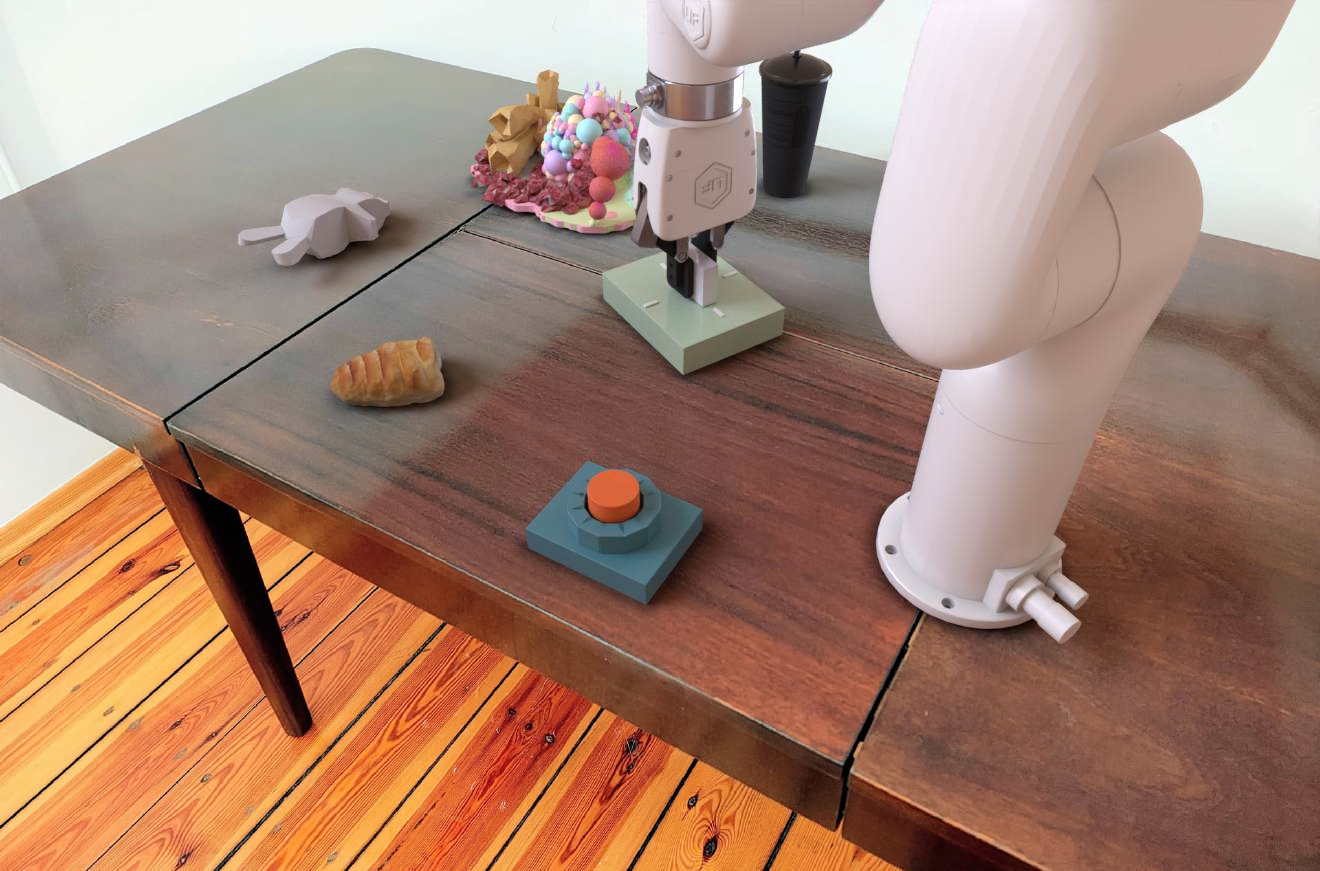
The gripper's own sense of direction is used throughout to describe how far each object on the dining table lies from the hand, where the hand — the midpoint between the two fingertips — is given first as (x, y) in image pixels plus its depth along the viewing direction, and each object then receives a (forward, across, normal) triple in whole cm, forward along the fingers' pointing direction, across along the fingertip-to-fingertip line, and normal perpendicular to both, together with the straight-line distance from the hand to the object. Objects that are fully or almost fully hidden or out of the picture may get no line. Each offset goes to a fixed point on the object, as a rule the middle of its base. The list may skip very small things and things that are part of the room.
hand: (691, 285), depth 86 cm
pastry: (+4, -27, +5) cm, 28 cm away
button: (0, -20, -20) cm, 28 cm away
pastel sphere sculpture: (+4, +5, +30) cm, 31 cm away
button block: (+3, -20, -20) cm, 28 cm away
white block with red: (0, 0, 0) cm, 0 cm away
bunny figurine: (+4, -25, +31) cm, 40 cm away
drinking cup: (+4, +23, +15) cm, 28 cm away
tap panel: (+3, 0, 0) cm, 3 cm away
